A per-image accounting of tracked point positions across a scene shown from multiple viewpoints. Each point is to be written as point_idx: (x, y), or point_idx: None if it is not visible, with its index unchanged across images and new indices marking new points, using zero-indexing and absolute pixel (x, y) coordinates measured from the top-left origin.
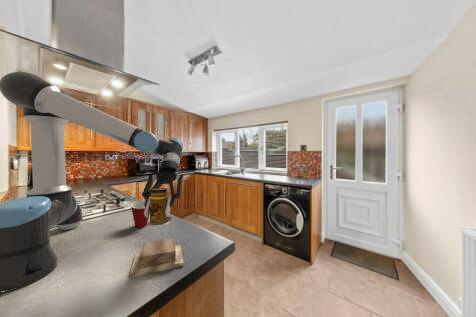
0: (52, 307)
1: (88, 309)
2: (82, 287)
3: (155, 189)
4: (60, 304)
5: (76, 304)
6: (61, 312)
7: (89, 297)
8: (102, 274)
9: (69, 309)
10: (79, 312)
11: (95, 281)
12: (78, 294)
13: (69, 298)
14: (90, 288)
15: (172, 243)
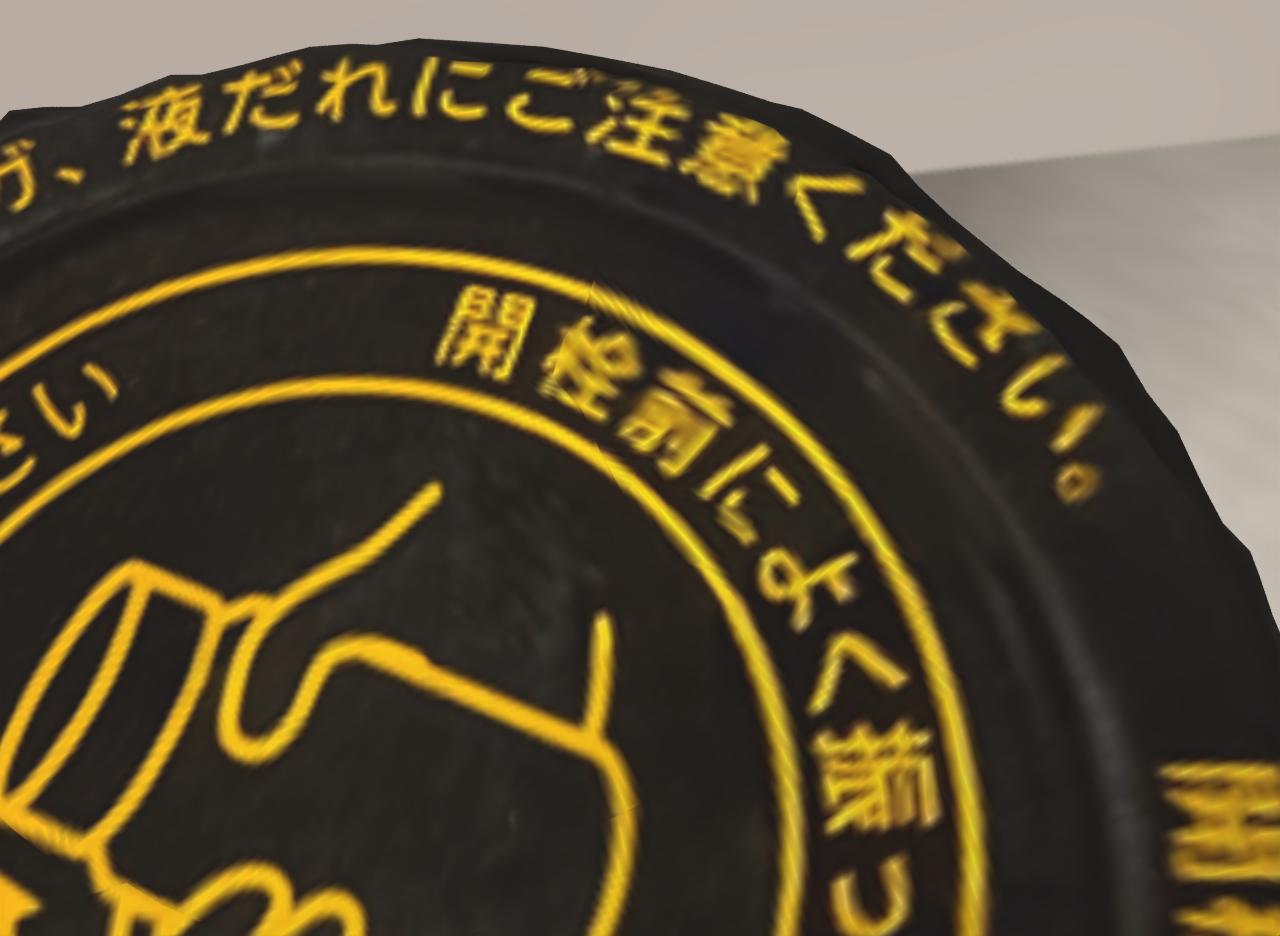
0: (1267, 176)
1: (932, 194)
2: (1271, 390)
3: (727, 587)
4: (1235, 206)
5: (1091, 221)
6: (1128, 150)
7: (1055, 293)
8: (1269, 596)
9: (1094, 177)
10: (978, 166)
11: (1226, 480)
12: (1204, 311)
13: (1235, 264)
14: (1168, 387)
15: None
